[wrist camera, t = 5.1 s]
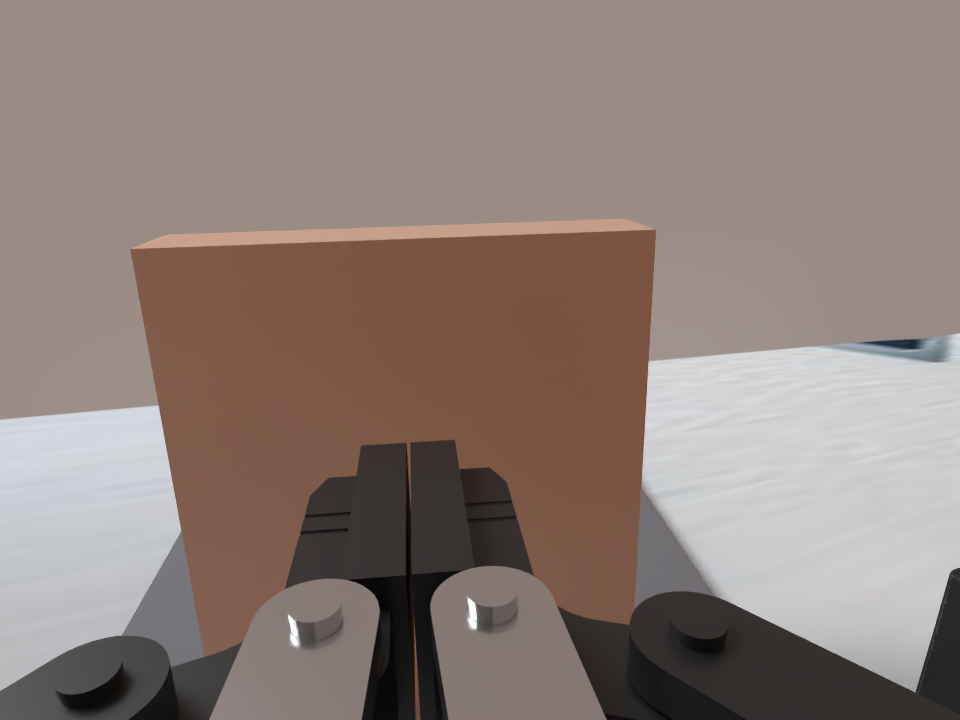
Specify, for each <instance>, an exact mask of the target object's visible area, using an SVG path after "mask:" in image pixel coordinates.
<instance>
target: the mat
mask: <svg viewBox="0 0 960 720" xmlns="http://www.w3.org/2000/svg"><path fill="white" fill-rule="evenodd" d="M673 591H688V592H697V593H702V594H707V595H711V596H713V594H712V593H711V591H710V590H709V588H708V587H707V585H706V584H705V582H704V581H703V579H702V578H701V576H700V575H699V573H698V572H697V571H696V569H695V568H694V566H693V565H692V563H691V562H690V560H689V559H688V557H687V556H686V554H685V553H684V551H683V550H682V548H681V547H680V545H679V544H678V542H677V541H676V539H675V538H674V536H673V535H672V533H671V532H670V531H669V529H668V528H667V526H666V525H665V523H664V522H663V520H662V519H661V517H660V516H659V514H658V513H657V511H656V510H655V508H654V507H653V505H652V504H651V502H650V501H649V499H648V498H647V496H646V495H645V493H644V492H643V491H642V489H641V500H640V517H639V535H638V552H637V570H636V587H635V605H634V610H635V608H636V607H637V606H638V605H639V604H640V603H641V602H643V601H644V600H646V599H647V598H650V597H652V596H654V595H657V594H661V593H665V592H673ZM122 636H141V637H145V638H149V639H152V640H154V641H156V642H158V643H159V644H160V645H162V646H163V647H164V649H165V650H166V652H167V653H168V657H169V660H170V665H171V667H173V666H176V665H180V664H183V663H186V662H189V661H192V660H196V659H199V658H202V657H204V651H203V646H202V640H201V635H200V629H199V624H198V618H197V613H196V607H195V602H194V596H193V591H192V585H191V580H190V574H189V569H188V563H187V558H186V552H185V547H184V541H183V536H182V531H181V533H180V535H179V537H178V538H177V540H176V542H175V544H174V545H173V547H172V549H171V551H170V552H169V554H168V556H167V558H166V559H165V561H164V563H163V565H162V566H161V568H160V570H159V572H158V573H157V575H156V577H155V579H154V580H153V582H152V584H151V586H150V587H149V589H148V591H147V593H146V594H145V596H144V598H143V600H142V601H141V603H140V605H139V607H138V608H137V610H136V612H135V613H134V615H133V617H132V619H131V620H130V622H129V624H128V626H127V627H126V629H125V631H124V633H123V634H122Z"/></svg>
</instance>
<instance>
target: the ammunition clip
mask: <svg viewBox="0 0 960 720" xmlns="http://www.w3.org/2000/svg"><path fill="white" fill-rule="evenodd" d="M916 693H917V694H919V695H921V696H923V697H925V698H927V699H929V700H931V701H934V702H936V703H938V704H940V705H942V706H944V707H946V708H948V709H950V710H952V711H954V712H956V713H958V714H960V568H957V569H955V570H953V571H952V572H951V573H950V575H949V578H948V582H947V586H946V589H945V593H944V596H943V600H942V603H941V607H940V610H939V614H938V617H937V621H936V625H935V628H934V632H933V635H932V638H931V642H930V645H929V649H928V652H927V655H926V659H925V662H924V666H923V669H922V672H921V676H920V679H919V683H918V686H917V689H916Z"/></svg>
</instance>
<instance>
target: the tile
mask: <svg viewBox="0 0 960 720" xmlns="http://www.w3.org/2000/svg"><path fill="white" fill-rule="evenodd" d="M655 238H656V230H655V229H652V228H650V227H647V226H644V225H642V224H639V223H636V222H633V221H630V220H628V219H602V220H601V219H599V220H572V221H545V222H516V223H515V222H514V223H486V224H457V225H429V226H400V227H374V228H343V229H317V230H287V231H261V232H233V233H232V232H230V233H202V234H174V235H164V236H162V237H159V238H157V239H155V240H152V241H149V242H147V243H144V244H142V245H140V246H137V247H134V248H132V249H130V250H131V255H132V260H133V266H134V272H135V277H136V282H137V288H138V294H139V299H140V305H141V310H142V315H143V321H144V327H145V332H146V338H147V343H148V348H149V354H150V360H151V365H152V371H153V376H154V381H155V387H156V392H157V398H158V404H159V409H160V415H161V420H162V426H163V431H164V437H165V442H166V448H167V453H168V459H169V464H170V470H171V475H172V481H173V486H174V492H175V497H176V503H177V508H178V514H179V519H180V525H181V530H182V536H183V541H184V547H185V552H186V558H187V563H188V569H189V574H190V580H191V585H192V591H193V596H194V602H195V607H196V613H197V618H198V624H199V629H200V635H201V640H202V646H203V651H204V657H205V656H208V655H212V654H215V653H218V652H220V651H223V650H226V649H228V648H230V647H233V646H235V645H237V644H239V643H241V642H242V641H243V640H244V638H245V636H246V633H247V631H248V629H249V626H250V624H251V622H252V620H253V618H254V616H255V614H256V612H257V611H258V610H259V609H260V608H261V606H262V605H263V604H264V603H266V602H267V601H268V600H269V599H270V598H272V597H273V596H275V595H276V594H277V593H279V592H281V591H283V590H285V586H286V582H287V579H288V575H289V571H290V568H291V564H292V560H293V557H294V553H295V549H296V545H297V542H298V538H299V536H300V531H301V527H302V523H303V520H304V519H305V512H306V509H307V505H308V501H309V498H310V495H311V494H312V493H313V492H314V491H315V490H316V489H317V488H318V487H319V486H320V485H321V484H322V483H323V482H324V481H325V480H326V479H327V478H333V477H348V476H356V475H357V468H358V461H359V455H360V448H361V445H377V444H393V443H407V455H408V472H409V489H410V506H411V464H410V442H423V441H440V440H455V443H456V450H457V456H458V462H459V469H469V468H484V467H490V468H491V469H492V470H493V471H494V472H496V473H497V474H498V475H499V476H500V477H502V478H503V479H504V480H505V481H506V482H507V484H508V488H509V491H510V495H511V498H512V504H513V505H514V509H515V512H516V515H517V520H518V522H519V526H520V529H521V533H522V536H523V540H524V543H525V547H526V550H527V554H528V557H529V560H530V564H531V567H532V571H533V574H534V577H536V578H537V579H539V580H540V581H541V582H543V583H544V584H545V586H546V587H547V588H548V589H549V591H550V592H551V594H552V596H553V598H554V601H555V603H556V605H557V606H559V607H560V608H562V609H564V610H566V611H568V612H571V613H573V614H575V615H579V616H582V617H585V618H590V619H595V620H600V621H607V622H614V623H621V624H627V625H630V619H631V615H632V613H633V612H634V605H635V587H636V570H637V552H638V535H639V517H640V500H641V482H642V465H643V447H644V430H645V412H646V395H647V378H648V360H649V343H650V324H651V307H652V289H653V272H654V255H655ZM414 639H415V708H416V720H420V704H419V688H418V671H417V655H416V638H415V622H414Z"/></svg>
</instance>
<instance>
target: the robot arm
mask: <svg viewBox="0 0 960 720" xmlns="http://www.w3.org/2000/svg"><path fill="white" fill-rule="evenodd" d="M410 464H411V506H410V489H409V472H408V455H407V443H393V444H377V445H361V448H360V455H359V461H358V468H357V475H356V476H348V477H333V478H327V479H326V480H325V481H324V482H323V483H322V484H321V485H320V486H319V487H318V488H317V489H316V490H315V491H314V492H313V493H312V494H311V495H310V498H309V501H308V505H307V509H306V512H305V519H304V520H303V523H302V527H301V531H300V536H299V538H298V542H297V545H296V549H295V553H294V557H293V560H292V564H291V568H290V571H289V575H288V579H287V582H286V586H285V590H283V591H281V592H279V593H277V594H276V595H275V596H273V597H272V598H270V599H269V600H268V601H267V602H266V603H264V604H263V605H262V606H261V608H260V609H259V610H258V611H257V612H256V614H255V616H254V618H253V620H252V622H251V624H250V626H249V629H248V631H247V633H246V636H245V638H244V640H243V641H242V642H241V643H239V644H237V645H235V646H233V647H230V648H228V649H226V650H223V651H220V652H218V653H215V654H212V655H208V656H205V657H202V658H199V659H196V660H192V661H189V662H186V663H183V664H180V665H176V666H173V667H171V665H170V660H169V657H168V653H167V652H166V650H165V649H164V647H163V646H162V645H160V644H159V643H158V642H156V641H154V640H152V639H149V638H145V637H141V636H115V637H109V638H104V639H100V640H96V641H92V642H89V643H87V644H84V645H81V646H78V647H76V648H74V649H72V650H69V651H67V652H65V653H63V654H62V655H60V656H58V657H56V658H54V659H53V660H51V661H49V662H48V663H46V664H44V665H43V666H41V667H39V668H38V669H36V670H35V671H33V672H31V673H30V674H28V675H26V676H25V677H23V678H21V679H20V680H18V681H16V682H15V683H13V684H11V685H10V686H8V687H6V688H5V689H3V690H2V691H0V720H416V708H415V639H414V622H415V638H416V655H417V671H418V688H419V704H420V720H960V714H958V713H956V712H954V711H952V710H950V709H948V708H946V707H944V706H942V705H940V704H938V703H936V702H934V701H931V700H929V699H927V698H925V697H923V696H921V695H919V694H917V693H915V692H913V691H911V690H909V689H907V688H905V687H903V686H901V685H898V684H896V683H894V682H892V681H890V680H888V679H886V678H884V677H882V676H880V675H878V674H876V673H874V672H872V671H870V670H868V669H865V668H863V667H861V666H859V665H857V664H855V663H853V662H851V661H849V660H847V659H845V658H843V657H841V656H839V655H837V654H835V653H832V652H830V651H828V650H826V649H824V648H822V647H820V646H818V645H816V644H814V643H812V642H810V641H808V640H806V639H804V638H802V637H799V636H797V635H795V634H793V633H791V632H789V631H787V630H785V629H783V628H781V627H779V626H777V625H775V624H773V623H771V622H769V621H766V620H764V619H762V618H760V617H758V616H756V615H754V614H752V613H750V612H748V611H746V610H744V609H742V608H740V607H738V606H736V605H733V604H731V603H729V602H727V601H725V600H722V599H720V598H717V597H714V596H711V595H707V594H702V593H697V592H688V591H673V592H665V593H661V594H657V595H654V596H652V597H650V598H647V599H646V600H644V601H643V602H641V603H640V604H639V605H638V606H637V607H636V608H635V610H634V612H633V613H632V615H631V619H630V625H627V624H621V623H614V622H607V621H600V620H595V619H590V618H585V617H582V616H579V615H575V614H573V613H571V612H568V611H566V610H564V609H562V608H560V607H559V606H557V605H556V603H555V601H554V598H553V596H552V594H551V592H550V591H549V589H548V588H547V587H546V586H545V584H544V583H543V582H541V581H540V580H539V579H537V578H536V577H534V574H533V571H532V567H531V564H530V560H529V557H528V554H527V550H526V547H525V543H524V540H523V536H522V533H521V529H520V526H519V522H518V520H517V515H516V512H515V509H514V505H513V504H512V498H511V495H510V491H509V488H508V484H507V482H506V481H505V480H504V479H503V478H502V477H500V476H499V475H498V474H497V473H496V472H494V471H493V470H492V469H491V468H490V467H484V468H469V469H459V462H458V456H457V450H456V443H455V440H440V441H423V442H410Z"/></svg>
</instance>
